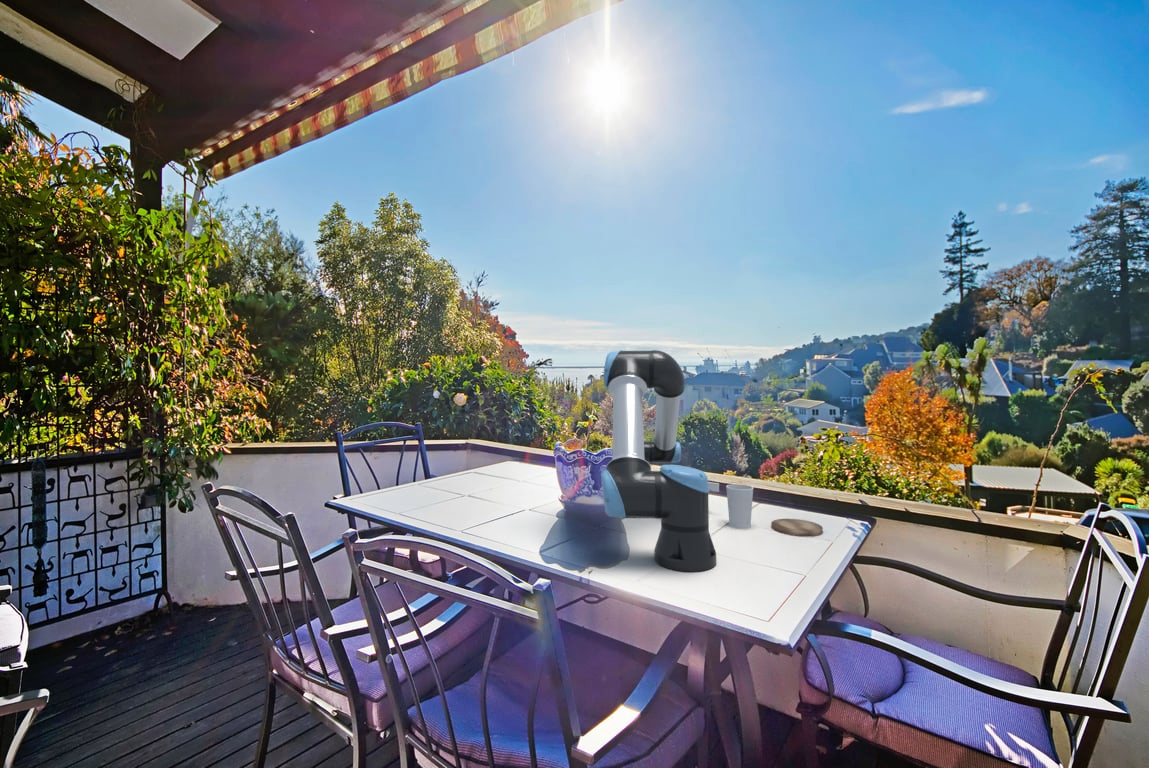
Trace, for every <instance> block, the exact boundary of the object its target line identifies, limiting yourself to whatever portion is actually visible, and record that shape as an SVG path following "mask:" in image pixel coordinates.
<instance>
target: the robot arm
mask: <svg viewBox="0 0 1149 768" xmlns="http://www.w3.org/2000/svg"><path fill="white" fill-rule="evenodd" d="M604 362H605V363H604V368H603V369H604V372H603V388H604V389H607V391H608V393H609V394H610V395H611V396H612V397H613V398H612V400H613V401H612V458H611V460H610V461H609V462H608V463H607V464H606V469H605V470H602V471H601V472H600V477H601V478H600V479H601V480H600V481H601V488H602V497H603V505H604V511H605V514H606V515H607V516H608V517H610V518H621V519H660V531H659V534H658V538H657V541H656V542H655V547H654V554H653V555H654V556H653V557H654V561H655V563H657V565H659V566H662V567H664V568H667V569H668V570H669V569H671V570H675V571H678V572H679V571H681V572H702V571H707V570H710V569H712V568H715V566H716V565H717V552H716V549H715V545H714V542H713V539H712V537H711V533H710V525H709V524H710V523H709V522H710V520H709V517H710V516H709V514H710V513H709V510H710V509H709V508H710V507H709V493H710V491H711V492H716V493H718V492H720V483H719V482H710V481H709V480H708V479H709V478H708V476H707V474H706V473H705V472H704V471H702V470H701V469H697V468H694V467H690V466H686V465H680V464H679V465H678V464H674V463H679V462H680V461H681V459H682V446H681V443H680V442H679V441H677V438H678V437H677V434H678V427H679V424H678V423H679V416H680V415H679V413H680V403H681V396H682V395H683V394H684V391H685V387H686V386H685V385H686V382H685V374H684V372H683V370H682V368H681V366H680V364H679V363H678V362H677V360H676V359H675V358H674V357H672V356H671V355H670V354H668V353H666V352H665V351H661V350H658V349H657V350H656V349H655V350H621V349H620V350H617V351H614V350H613V351H610V352H609V353H607V355H606V358H605V361H604ZM648 389H653V390H654V393H655V395H656V400H655V420H654V421H655V423H654V441H645V435H644V411H643V410H644V409H643V397H644V395H645V394H646V393H647V391H648ZM650 463H653V464H655V463H660V464H662V465H661V466H660V468H659V471H658V470H652V467H651V464H650ZM671 463H673V464H671Z"/></svg>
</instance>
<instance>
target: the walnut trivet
mask: <svg viewBox="0 0 1149 768" xmlns="http://www.w3.org/2000/svg"><path fill="white" fill-rule="evenodd" d="M771 529H772V530H773V529H774V530H773V531H775V532H777V531H778V533H780V534H783V533H784V535H787V534H788V536H793V535H794V536H795V537H803V536H811V537H817V535H818V536H821V535H822V534H824V533H823V532H824V531H823V526H822V525H820V524H819V523H817V522H813V521H809V520H806V519H799V518H777V519H773V521H771ZM820 534H821V535H820ZM794 536H793V537H794Z"/></svg>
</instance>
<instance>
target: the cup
mask: <svg viewBox="0 0 1149 768" xmlns="http://www.w3.org/2000/svg"><path fill="white" fill-rule="evenodd" d="M725 489H726V499H727V509H728V521H729V522H728V524H729V527H731V526H732V527H731V528H734V527H735V529H740V528H746V529H751V528H752V512H753V511H752V510H753V499H754V498H753V496H754V486H752V485H750V484H749V485H748V484H741V483H739V484H737V483H733V484H727V485H726V487H725Z"/></svg>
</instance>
